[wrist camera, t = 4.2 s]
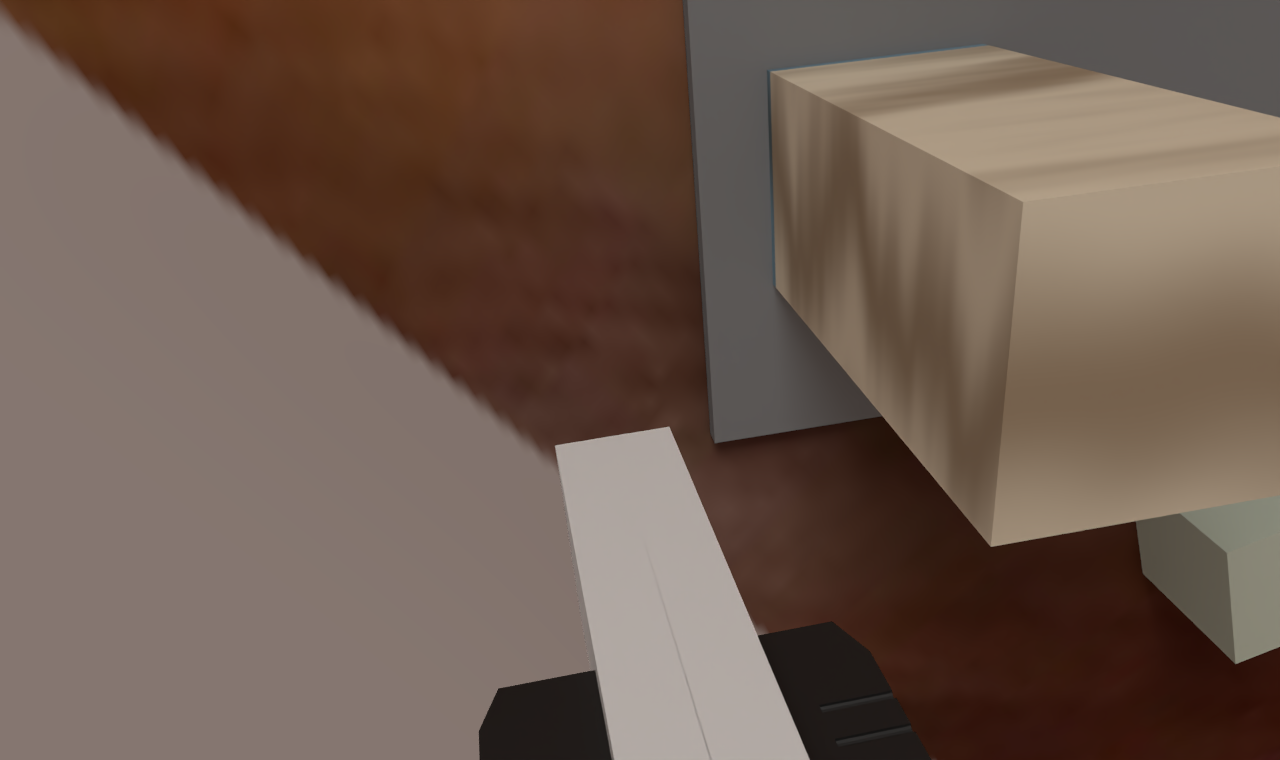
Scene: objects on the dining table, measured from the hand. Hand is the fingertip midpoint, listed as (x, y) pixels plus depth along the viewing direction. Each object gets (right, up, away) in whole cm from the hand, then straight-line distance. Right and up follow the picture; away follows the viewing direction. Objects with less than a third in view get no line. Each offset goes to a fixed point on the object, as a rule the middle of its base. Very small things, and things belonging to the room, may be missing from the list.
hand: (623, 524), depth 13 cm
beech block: (+7, +8, +14) cm, 17 cm away
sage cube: (+21, -2, +22) cm, 30 cm away
